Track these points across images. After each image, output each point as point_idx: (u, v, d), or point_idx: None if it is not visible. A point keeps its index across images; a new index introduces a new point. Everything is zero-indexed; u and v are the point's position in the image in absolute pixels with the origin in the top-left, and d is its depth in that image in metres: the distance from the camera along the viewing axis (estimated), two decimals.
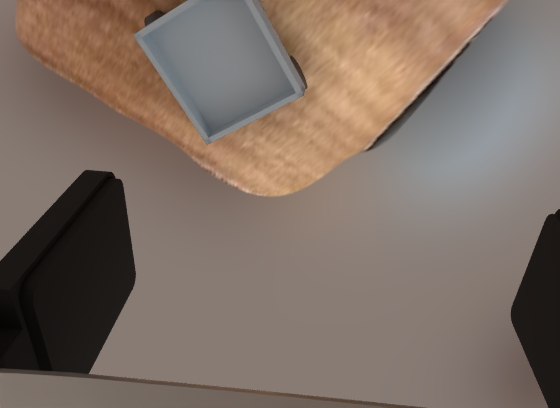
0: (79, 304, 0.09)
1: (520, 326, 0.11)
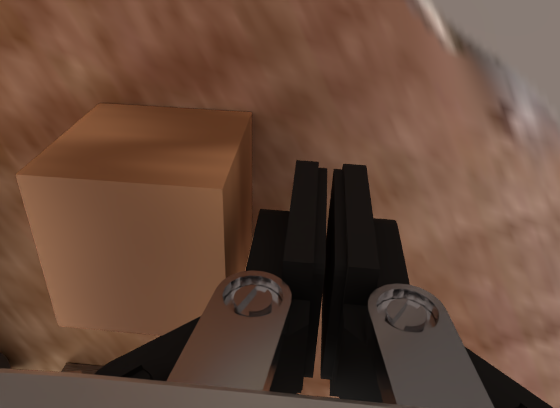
0: None
1: None
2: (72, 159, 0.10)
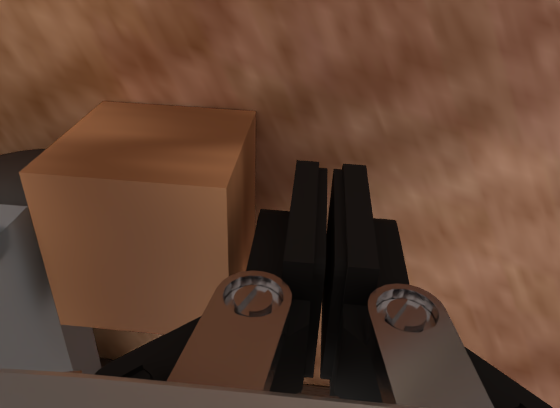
0: None
1: None
2: (76, 157, 0.10)
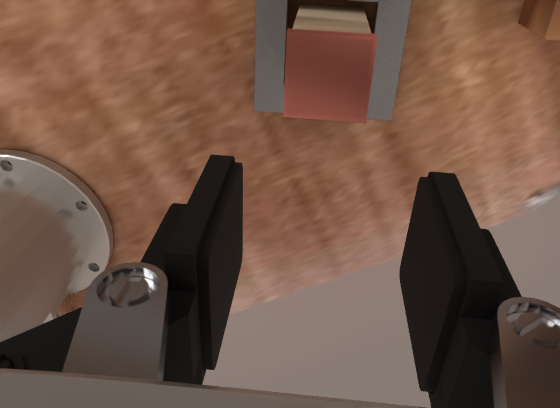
0: (222, 274, 0.10)
1: (403, 281, 0.12)
2: None
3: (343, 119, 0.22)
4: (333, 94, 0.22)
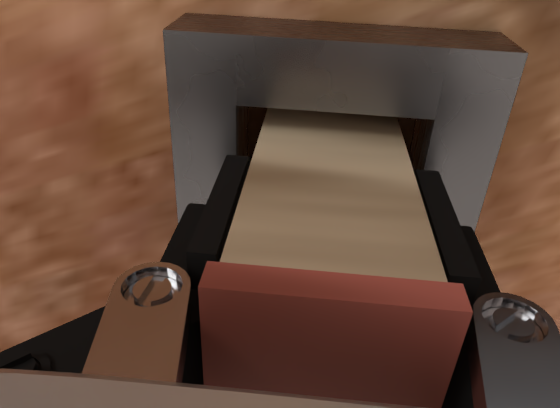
0: None
1: None
2: None
3: None
4: None
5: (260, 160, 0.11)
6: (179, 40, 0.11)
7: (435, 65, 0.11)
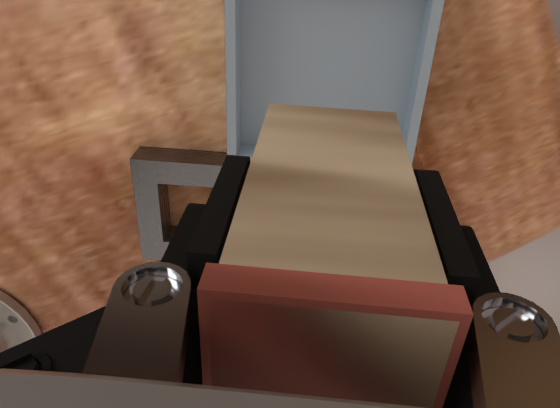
0: None
1: None
2: None
3: None
4: None
5: (260, 161, 0.11)
6: (135, 162, 0.32)
7: None
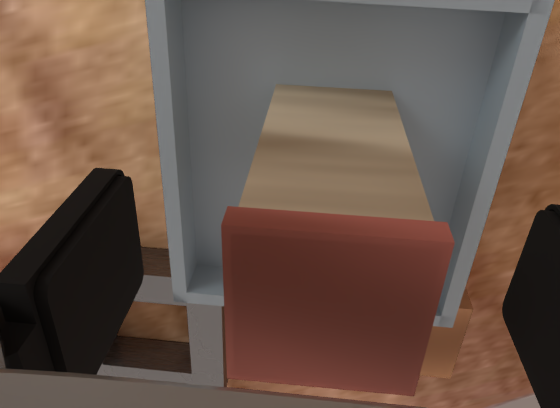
0: (90, 300, 0.09)
1: (511, 321, 0.11)
2: None
3: (362, 388, 0.10)
4: (341, 345, 0.09)
5: (269, 130, 0.12)
6: None
7: None
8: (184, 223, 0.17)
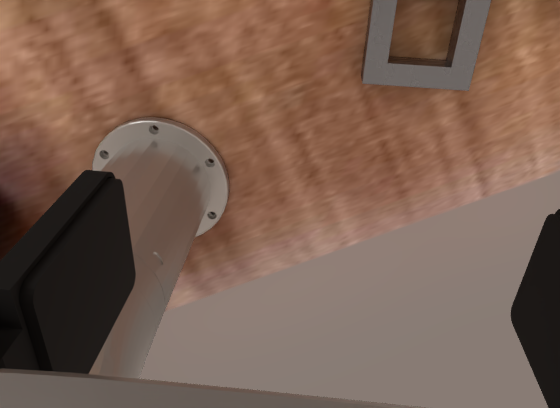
0: (79, 304, 0.09)
1: (520, 326, 0.11)
2: None
3: None
4: None
5: None
6: None
7: None
8: None
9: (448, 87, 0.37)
